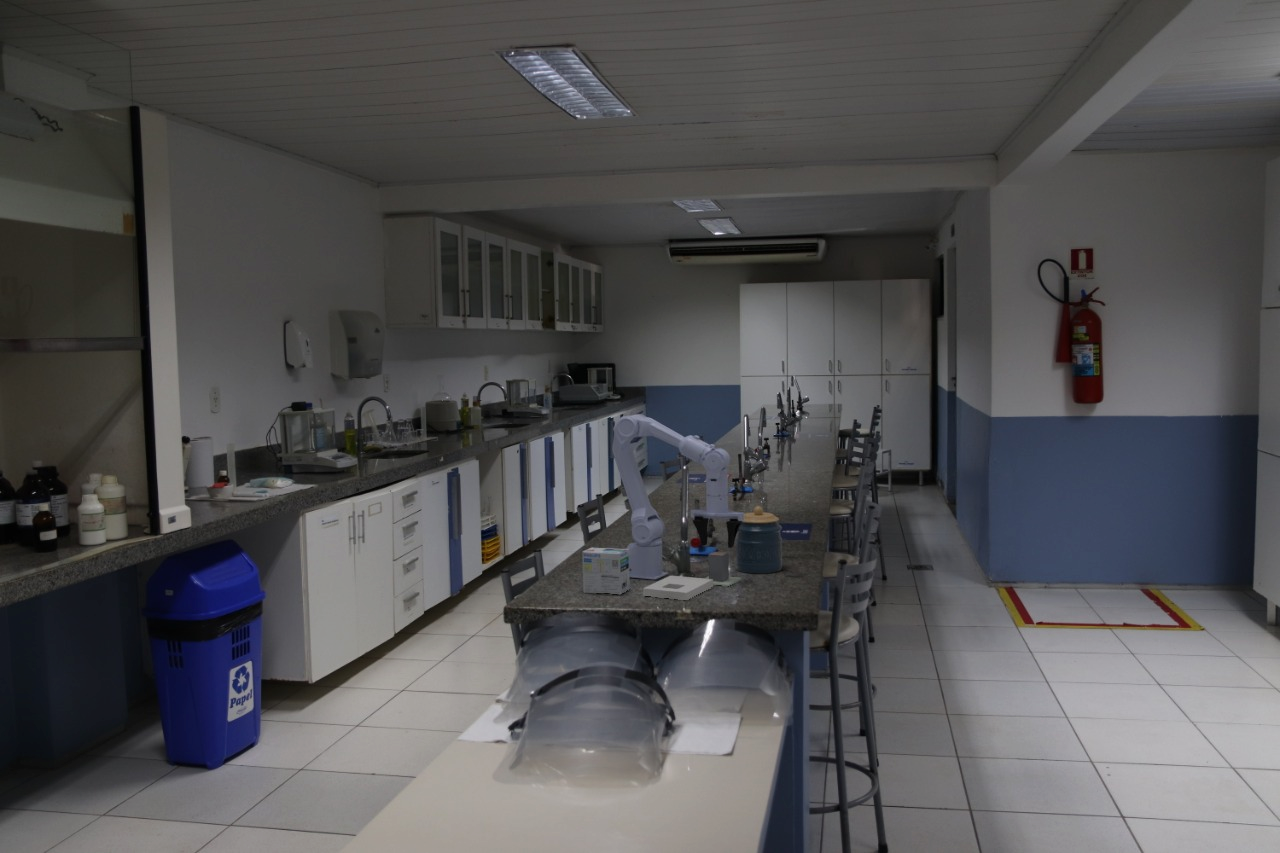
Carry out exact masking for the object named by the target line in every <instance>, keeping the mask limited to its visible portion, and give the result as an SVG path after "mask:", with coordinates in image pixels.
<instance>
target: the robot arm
mask: <svg viewBox="0 0 1280 853" xmlns="http://www.w3.org/2000/svg"><path fill="white" fill-rule="evenodd" d="M612 430H613V433H614V434H613V439H612V440H613V441H612V449H611V450H612V455H613V458H614V461H615V463H616V466H617V470H618V474H619V475H620V478H621V482H622V486H623V488H624V491H625V494H626V497H627V500H628V503H629V506H630V508H631V512H632V513H631V518H630V523H631V537H632V539H633V540H634V542H631V543H629V544H628V545H627V547H626V549H629V571H630V578H635V579H642V580H643V579H644V580H645V579H646V580H656V581H657V580H658V579H660V578H663V577H665V576H667V575H669V572H668V571H667V572H666V571H663V541H662V537H664V535H665V532H666V526H665V523H664V521H663V520H662V519H661V518H660V517H659V514H658V512H657V510H656V509H655V508H654V507H653V506H652V505H651V501H650V499H649V495H648V493H647V489H646V487H645V483H644V480H643V477H642V475H641V474H642V473H641V471H640V469H639V465H638V463H637V459H636V457H635V454H634V450H635V448H636V447H637V445H638V443H639V441H640V440H642V439H643V438H644V437H654V438H657V439H659V440H661V441H663V442H665V443H667V444H669V445H672V446H674V447H676V448H678V449H679V453H680V454H681V455H682V456H684V457H685V458H687V459H689V460H691V461H693V462H695V463H696V464H697V463H698V464H699V465H702V466H703V468H704V469H705V470H706V472H705V474H706V476H705V486H706V487H705V488H706V489H705V493H706V494H705V498H706V499H705V500H706V501H705V503H706V507H705V509H691V510H690V518H692V523H693V525H694V527H695V529H696V531H697V533H698V536H699V539H700V544H701V545H700V546H702V547H704V546H706V545H707V544H708V526H709V525H708V524H709V520H710V519H715V520H725V521H726V520H728V521H726V522H725V524H726V530H727V547H728V548H729V549H732V548H734V546H735V543H736V541H735V538H736V537H737V532H738V529H739V527H740V525H741V523H742V521H743V520H744V514H745V512H741V511H732V510H729V477H728V472H729V471H728V467H729V465H730V463H731V456H730V453H729V452H728V451H727V450H725V449H724V448H722V447H717V448H716V445H715V444H713V443H711V444H709V443H707V442H706V441H704V440H702V439H700V436H698V435H697V434H696V435H690V434H689V435H687V436H683V435H682V434H680V433H678V432H676V431H675V430H673V429H672V428H669V427H667V426H666V425H664V424H662V423H660V422H659V421H657V420H656V419H653V418H651V417H650V416H649V417H647V416H646V415H645V414H641V413H636V414H632V415H624V416H621V417H619V419H618V420H617V422H616V423H615V425H614V426H613V429H612Z"/></svg>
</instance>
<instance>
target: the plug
mask: <svg viewBox="0 0 1280 853" xmlns="http://www.w3.org/2000/svg"><path fill="white" fill-rule="evenodd" d="M729 555H730V554H729V552H724V551H713V552H711V553H709V554H708V576H709V579H713V581H716V582H724V581H726V580H728V579H729V577H730V568H729V567H730V562H729V560H730V559H729Z"/></svg>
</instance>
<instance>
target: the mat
mask: <svg viewBox="0 0 1280 853" xmlns="http://www.w3.org/2000/svg"><path fill="white" fill-rule="evenodd" d="M703 579H709V575H707V576H706V577H703ZM742 579H743V578H742V577H740V576H739V577H738V576H729V579H728V580H726V581H724V582H716V581H713V586H716V585H722V586H721V587H727V586H729V587H731V586H733V585H734V583H735V584H736V583H738V582H740V581H742ZM732 584H733V585H732ZM730 585H731V586H730Z"/></svg>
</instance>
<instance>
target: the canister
mask: <svg viewBox="0 0 1280 853" xmlns="http://www.w3.org/2000/svg"><path fill="white" fill-rule="evenodd" d="M778 521H780V518H779V517H777V516H776V515H775V514H774V513H771V512H764V509H763V507H762V506H760V505H758V506H757V505H756V506H755V507H754V508H753V512H746V513H744V520H743V521H742V523H741V525H740V527H739V529H738V532H737V534H736V538H735V567H736V570H737V571H739V572H742V573H746V574H747V573H748V574H771V573H776V572H780V571H781V570H782V567H783V559H782V557H783V556H782V552H783V551H782V550H783V549H782V546H783V545H782V542H783V538H782V536H781V530H782V529H783V527H782V525H781V524H779V523H778Z"/></svg>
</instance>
